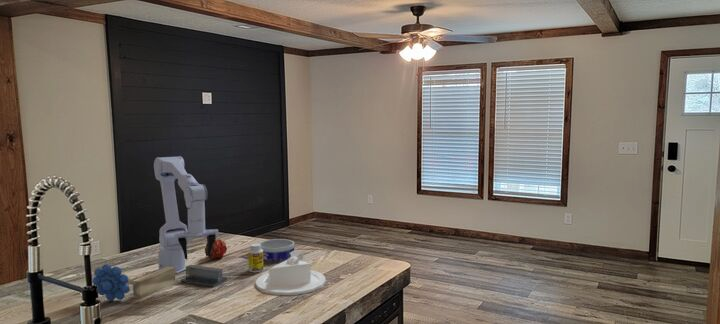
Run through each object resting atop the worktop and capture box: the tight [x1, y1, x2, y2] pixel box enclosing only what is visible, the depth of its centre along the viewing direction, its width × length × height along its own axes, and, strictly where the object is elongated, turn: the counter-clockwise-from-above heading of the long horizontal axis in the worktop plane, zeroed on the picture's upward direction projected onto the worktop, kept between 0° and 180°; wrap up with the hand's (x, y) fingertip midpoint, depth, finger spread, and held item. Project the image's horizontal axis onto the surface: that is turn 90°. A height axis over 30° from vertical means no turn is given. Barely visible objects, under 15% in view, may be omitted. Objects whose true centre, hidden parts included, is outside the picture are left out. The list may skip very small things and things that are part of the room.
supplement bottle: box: [248, 243, 264, 273], centre depth 181 cm, size 6×6×10 cm
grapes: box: [91, 263, 131, 302], centre depth 150 cm, size 12×7×12 cm, turn 92°
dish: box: [255, 249, 326, 296], centre depth 168 cm, size 25×25×11 cm
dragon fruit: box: [204, 238, 228, 260], centre depth 198 cm, size 8×8×12 cm
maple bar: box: [132, 266, 176, 300], centre depth 160 cm, size 3×16×6 cm, turn 160°
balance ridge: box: [180, 264, 228, 288], centre depth 169 cm, size 14×8×5 cm, turn 70°
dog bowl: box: [258, 238, 295, 263], centre depth 200 cm, size 15×15×6 cm
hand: (197, 257), depth 166 cm, fingers open, 7 cm apart
